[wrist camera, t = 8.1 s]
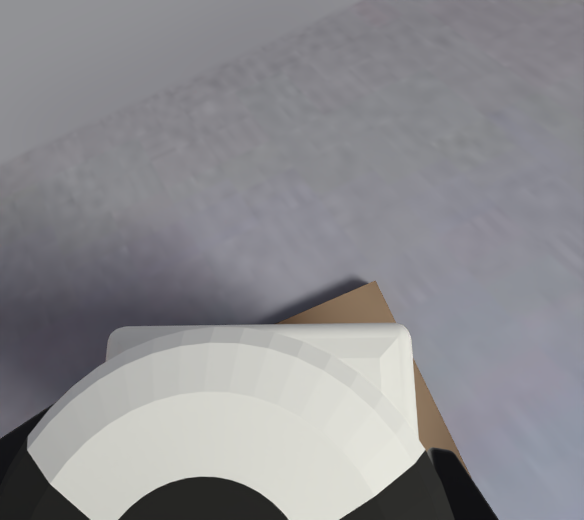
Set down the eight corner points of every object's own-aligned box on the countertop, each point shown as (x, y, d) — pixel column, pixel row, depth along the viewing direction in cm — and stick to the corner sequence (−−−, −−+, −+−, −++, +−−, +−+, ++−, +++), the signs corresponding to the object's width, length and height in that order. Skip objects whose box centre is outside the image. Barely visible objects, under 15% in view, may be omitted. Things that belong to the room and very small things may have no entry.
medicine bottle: (383, 558, 15) (608, 1109, 4) (174, 557, 16) (-220, 1069, 4) (372, 344, 17) (500, 270, 6) (185, 346, 17) (-64, 280, 6)
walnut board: (248, 623, 19) (245, 636, 18) (163, 375, 22) (156, 375, 21) (483, 513, 20) (491, 520, 19) (372, 284, 22) (375, 280, 21)
